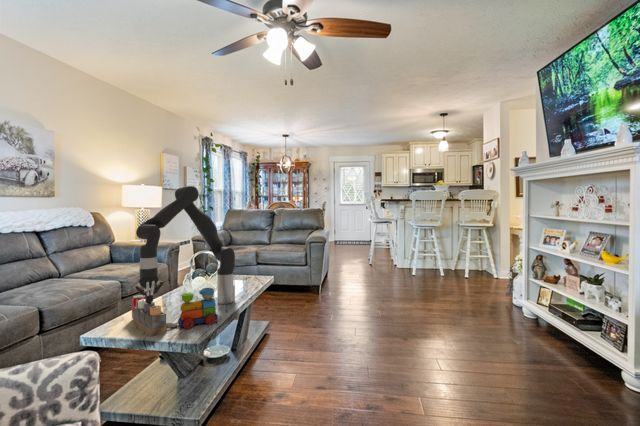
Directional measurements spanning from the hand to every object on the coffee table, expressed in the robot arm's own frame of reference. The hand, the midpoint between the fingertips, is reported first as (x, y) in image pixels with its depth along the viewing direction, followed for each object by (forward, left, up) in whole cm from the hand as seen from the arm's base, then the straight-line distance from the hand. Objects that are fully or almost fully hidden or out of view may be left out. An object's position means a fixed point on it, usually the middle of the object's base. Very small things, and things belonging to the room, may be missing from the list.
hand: (149, 303), depth 150 cm
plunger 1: (0, -7, -7) cm, 10 cm away
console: (0, 0, -12) cm, 12 cm away
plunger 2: (0, +8, -7) cm, 10 cm away
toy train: (-15, +9, -12) cm, 22 cm away
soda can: (-1, -16, -12) cm, 20 cm away
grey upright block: (0, 0, -7) cm, 7 cm away
